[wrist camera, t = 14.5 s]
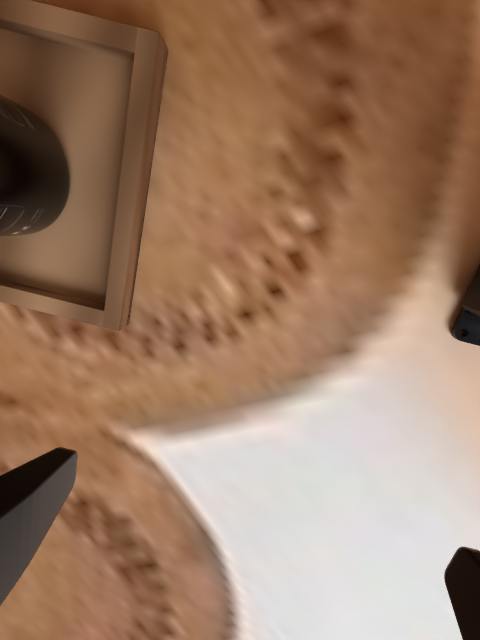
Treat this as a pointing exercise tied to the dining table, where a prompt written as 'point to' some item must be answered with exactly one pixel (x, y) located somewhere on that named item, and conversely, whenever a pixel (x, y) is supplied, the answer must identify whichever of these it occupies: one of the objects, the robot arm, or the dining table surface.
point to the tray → (83, 156)
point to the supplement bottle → (29, 172)
